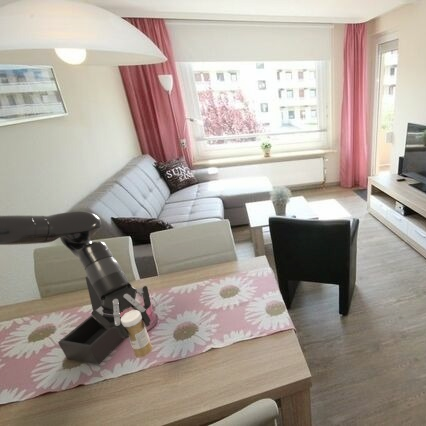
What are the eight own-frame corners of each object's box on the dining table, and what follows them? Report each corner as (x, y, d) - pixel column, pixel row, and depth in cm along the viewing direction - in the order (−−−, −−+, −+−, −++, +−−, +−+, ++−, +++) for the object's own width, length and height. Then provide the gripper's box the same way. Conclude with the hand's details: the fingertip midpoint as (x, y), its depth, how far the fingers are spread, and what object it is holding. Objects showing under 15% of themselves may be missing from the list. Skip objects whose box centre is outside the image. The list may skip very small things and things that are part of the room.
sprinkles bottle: (131, 353, 82) (116, 317, 77) (147, 342, 86) (134, 306, 80) (140, 361, 80) (125, 324, 74) (156, 349, 83) (143, 313, 78)
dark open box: (98, 364, 99) (89, 347, 95) (67, 358, 101) (57, 342, 98) (130, 332, 111) (123, 316, 108) (101, 328, 114) (94, 312, 110)
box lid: (115, 280, 104) (117, 279, 104) (85, 277, 106) (87, 276, 107) (122, 316, 107) (124, 314, 108) (93, 312, 110) (95, 310, 111)
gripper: (75, 287, 72) (107, 347, 70) (136, 261, 82) (167, 313, 80) (77, 295, 78) (107, 351, 76) (134, 270, 88) (163, 318, 86)
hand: (138, 331), depth 78 cm, fingers closed on sprinkles bottle, 4 cm apart
